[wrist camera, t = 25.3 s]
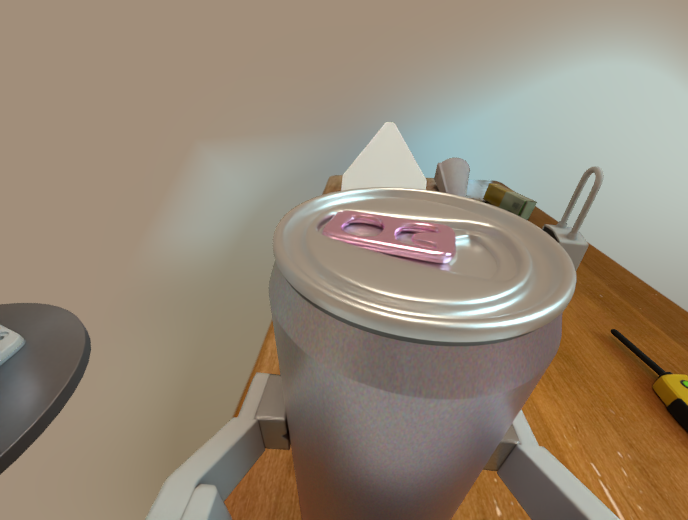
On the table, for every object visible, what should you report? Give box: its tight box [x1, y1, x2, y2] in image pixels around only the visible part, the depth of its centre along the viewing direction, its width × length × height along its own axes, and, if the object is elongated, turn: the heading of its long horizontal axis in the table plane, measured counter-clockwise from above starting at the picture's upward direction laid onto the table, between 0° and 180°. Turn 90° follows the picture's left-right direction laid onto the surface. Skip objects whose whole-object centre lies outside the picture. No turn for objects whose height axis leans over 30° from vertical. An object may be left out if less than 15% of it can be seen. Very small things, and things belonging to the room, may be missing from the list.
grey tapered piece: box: [434, 158, 470, 197], centre depth 64 cm, size 8×9×26 cm
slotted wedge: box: [341, 122, 427, 191], centre depth 52 cm, size 14×11×18 cm
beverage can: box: [269, 187, 576, 520], centre depth 10 cm, size 6×6×15 cm
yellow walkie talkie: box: [611, 329, 688, 432], centre depth 24 cm, size 5×2×15 cm
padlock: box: [542, 167, 603, 272], centre depth 38 cm, size 7×4×15 cm, turn 166°
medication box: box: [483, 183, 537, 220], centre depth 61 cm, size 12×3×4 cm, turn 13°
